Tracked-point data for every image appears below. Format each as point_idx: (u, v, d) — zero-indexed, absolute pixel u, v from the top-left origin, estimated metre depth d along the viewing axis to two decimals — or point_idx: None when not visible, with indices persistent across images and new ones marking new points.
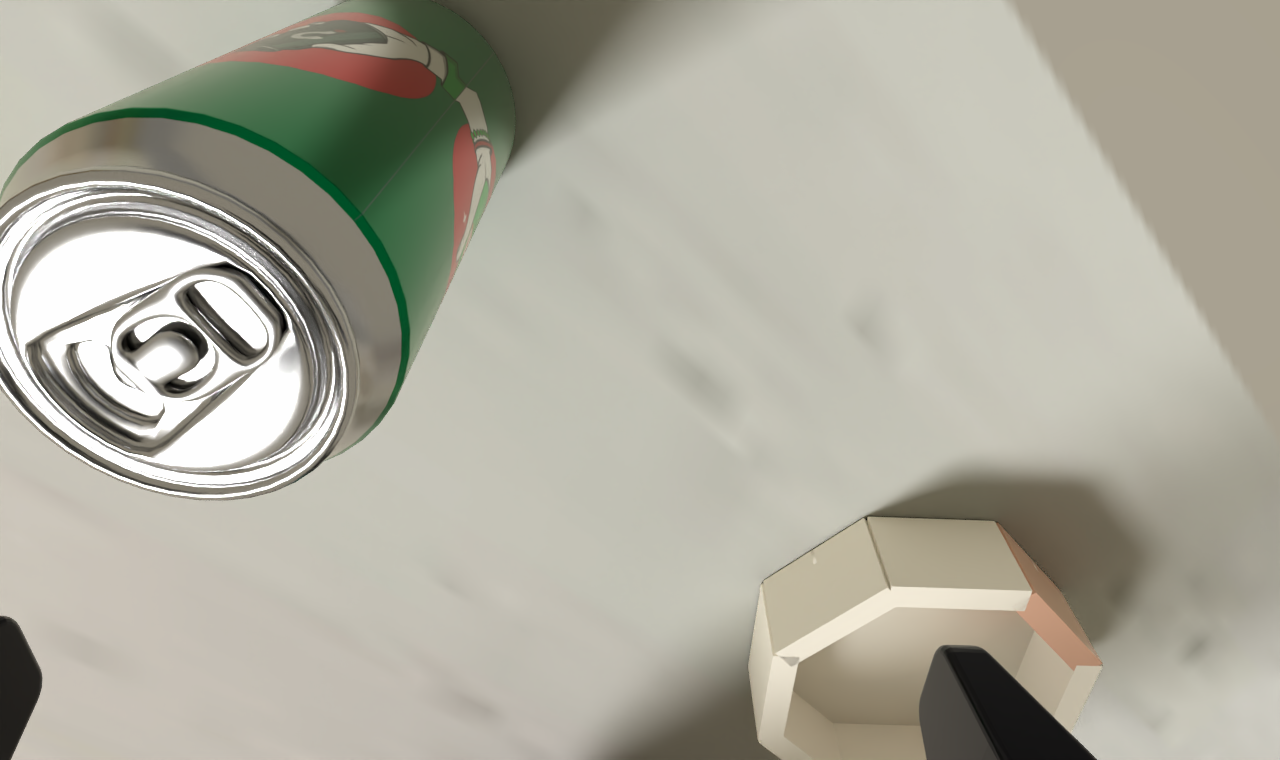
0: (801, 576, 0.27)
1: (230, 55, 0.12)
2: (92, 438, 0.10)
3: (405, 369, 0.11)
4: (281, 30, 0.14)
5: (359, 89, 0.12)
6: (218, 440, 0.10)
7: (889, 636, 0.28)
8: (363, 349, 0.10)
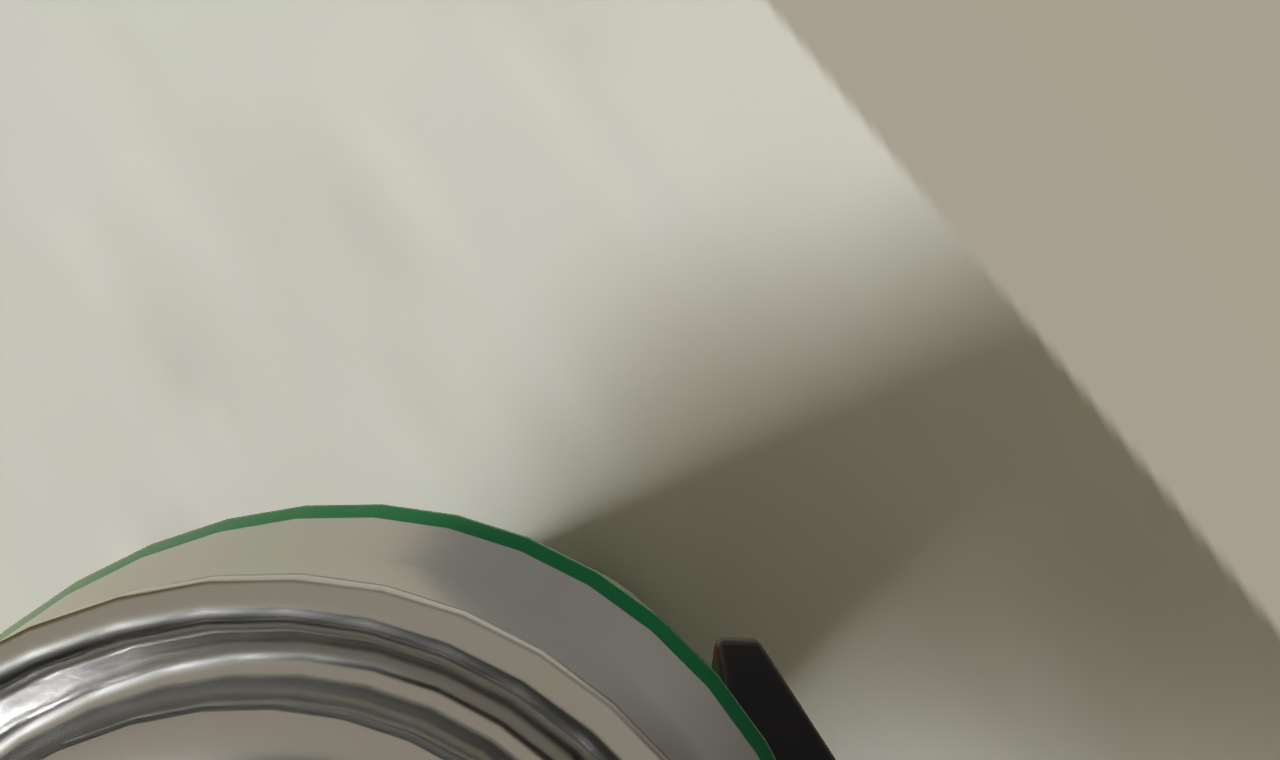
0: None
1: None
2: None
3: None
4: None
5: None
6: None
7: None
8: None
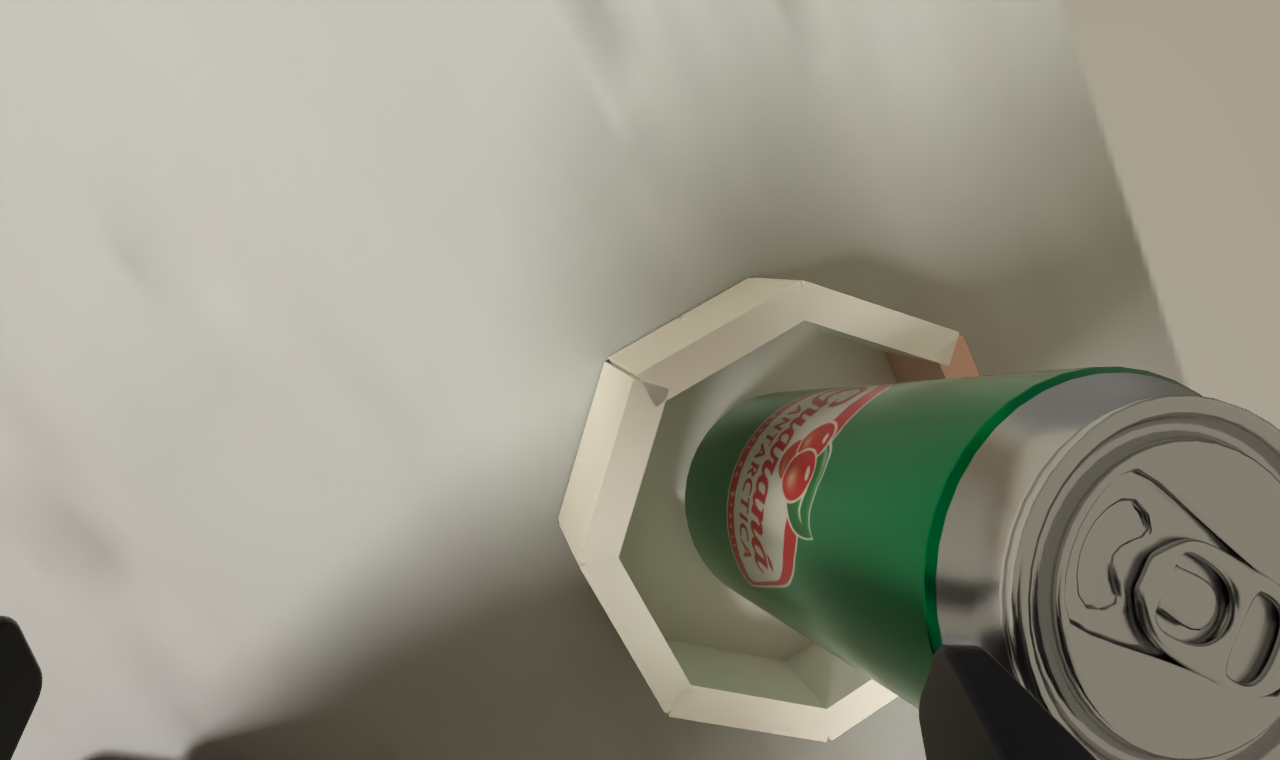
0: (667, 331, 0.20)
1: None
2: None
3: None
4: None
5: None
6: (1129, 686, 0.09)
7: None
8: None
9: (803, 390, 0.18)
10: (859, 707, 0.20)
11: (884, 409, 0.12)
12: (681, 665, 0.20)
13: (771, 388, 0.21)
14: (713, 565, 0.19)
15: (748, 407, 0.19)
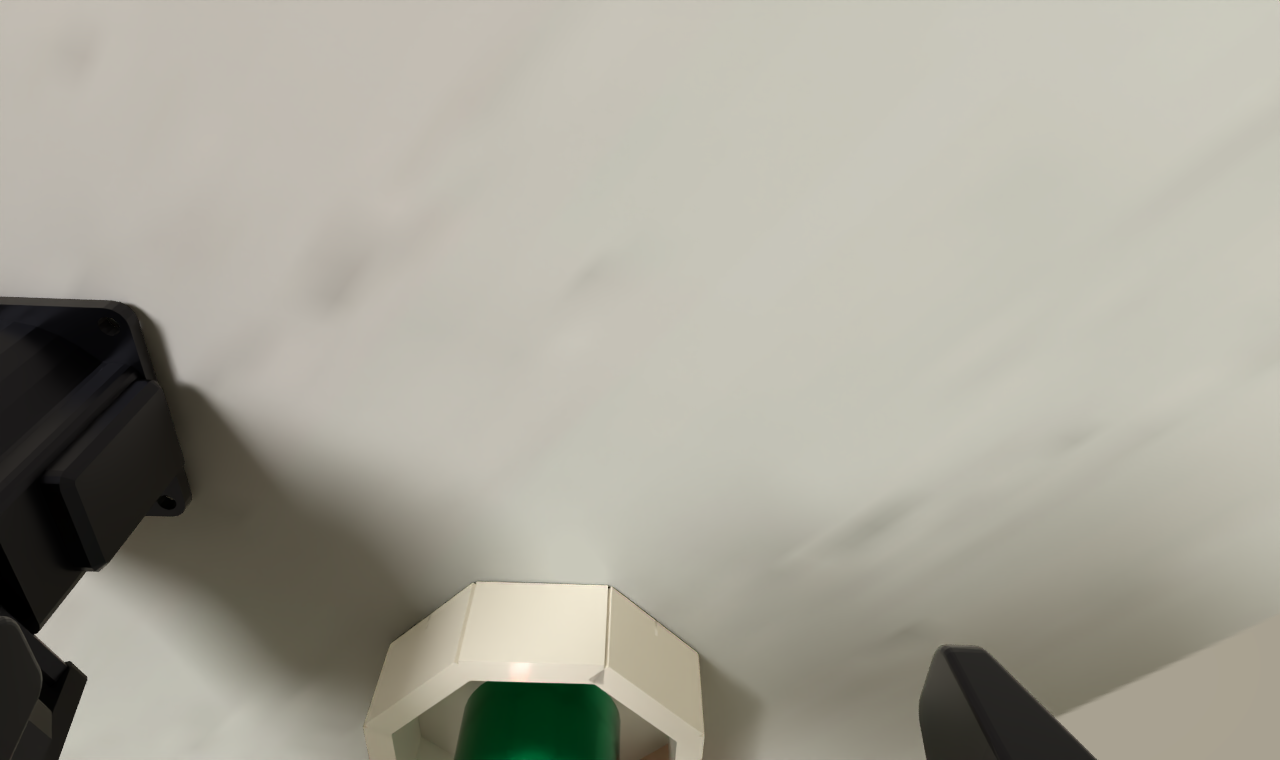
0: (643, 630, 0.26)
1: None
2: None
3: None
4: None
5: None
6: None
7: None
8: None
9: (613, 757, 0.25)
10: None
11: None
12: None
13: None
14: (476, 710, 0.25)
15: (594, 714, 0.25)
